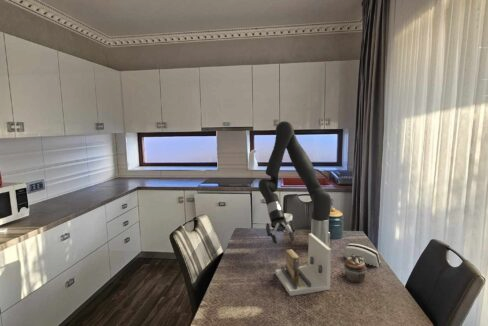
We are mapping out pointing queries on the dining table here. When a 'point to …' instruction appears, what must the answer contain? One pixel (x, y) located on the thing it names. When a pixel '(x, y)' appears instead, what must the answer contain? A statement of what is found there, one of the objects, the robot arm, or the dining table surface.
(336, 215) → the canister
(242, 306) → the dining table surface
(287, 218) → the white cup
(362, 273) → the cupcake
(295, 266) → the wooden block
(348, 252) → the white arched napkin holder
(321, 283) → the l-shaped angle bracket
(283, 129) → the robot arm
